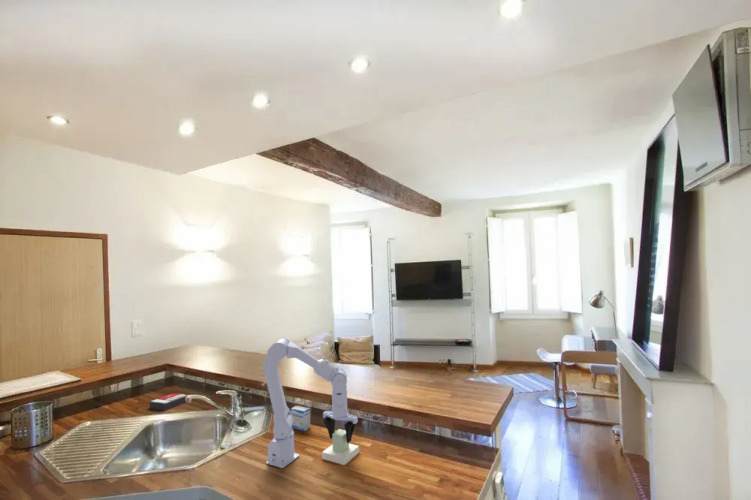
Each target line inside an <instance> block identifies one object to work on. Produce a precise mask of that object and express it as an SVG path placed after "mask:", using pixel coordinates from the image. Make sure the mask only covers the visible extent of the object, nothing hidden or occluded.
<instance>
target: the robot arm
mask: <svg viewBox="0 0 751 500" xmlns="http://www.w3.org/2000/svg"><path fill="white" fill-rule="evenodd" d="M285 357H286V359H287V360H288V359H293V358H295V359H297V360H299V361H301V362H303V363H304V364H306V365H308V366H310V367H311V368H313V372H314V374H316V375H317V376H319V377H321V378H322V379H323V380H326V381H327V382H330V384H331V387H332V390H331V407H332V408H331V409H332V411H330V410H329V411H328V410H326V411H324V412H322V418H324V419H323V424H324V426H325V428H326V429H327V434H328V435H329V439H331V440H333V437H332V434H333V433H334V432H336V431H335V430H336V429H335V428H336V427H335V426H336V421H343V422H346V423H345V424H344V430H346V440H347V443H349V444H350V442H351V441H352V438H353V433H354V431H355V427H356V425H357V423H358V421H359V420H358V416H355V415H353V414H350V413H348V390H347V388H348V387H347V384H348V383H347V382H348V381H347V378H348V377H347V373H346V371H345V370H344V369H343V368H340V367H338V366H334V365H333V364H332V363H330V361H329V360H328V359H324V358H321V359H318V358H316V357H314V356H313V355H311V354H310V353H308V352H307V351H306V350H304V349H303V347H300V346H299V345H298V344H296V343H295V342H293V341H290V340H289V339H287V338H285V337H281V338H278V339H277V340H276V341H275V342H274V343H273V344H272V345H271V346H270V347H269V348H268V350H267V351H266V355H265V358H264V361H263V363H262V369H263V372H264V376H265V382H266V386H267V390H268V394H269V397H270V398H269V399H270V403H271V406H272V411H273V415H272V416H273V419H272V422H273V428H272V432H273V439H271V441H269V443H268V446H267V461H265V462H266V464H267V465H271V466H274V467H278V468H280V469H283V468H285V467H287V465H289V464H290V463H292V462H293V461H294V460H297V458H299V457H300V454H298V453H295V432H294V429H292V425H293V423H294V417H293V415H292V414H291V409H290V408H289V407H288V405H287V401H286V398H285V392H284V389H283V383H282V380H281V375H280V371H279V367H278V365H279V363H280V362H281V361H282V360H283V359H284V358H285Z"/></svg>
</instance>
